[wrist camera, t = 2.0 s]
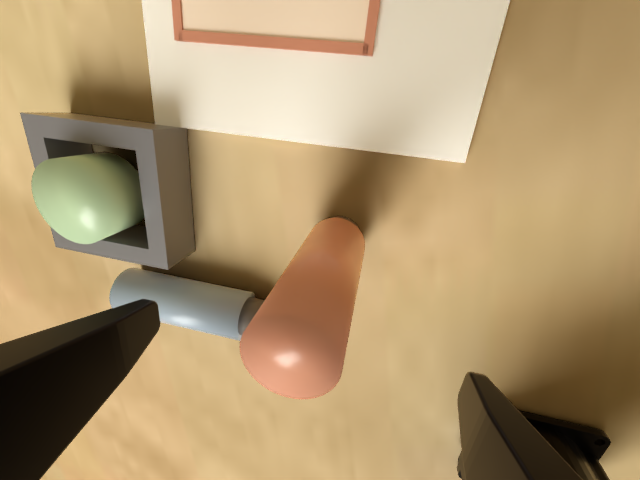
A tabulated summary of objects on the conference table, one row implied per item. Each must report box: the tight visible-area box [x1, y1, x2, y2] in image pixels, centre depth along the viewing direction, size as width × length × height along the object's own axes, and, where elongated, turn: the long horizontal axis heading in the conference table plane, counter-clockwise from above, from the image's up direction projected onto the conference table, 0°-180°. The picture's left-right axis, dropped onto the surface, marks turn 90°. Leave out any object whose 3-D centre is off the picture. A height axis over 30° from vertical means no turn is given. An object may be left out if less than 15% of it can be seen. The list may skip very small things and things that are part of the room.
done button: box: [32, 152, 144, 244], centre depth 15 cm, size 4×4×2 cm
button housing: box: [20, 113, 195, 270], centre depth 17 cm, size 7×7×2 cm
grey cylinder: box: [110, 268, 265, 341], centre depth 19 cm, size 9×3×3 cm, turn 84°
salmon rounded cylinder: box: [240, 216, 365, 399], centre depth 12 cm, size 3×3×9 cm
